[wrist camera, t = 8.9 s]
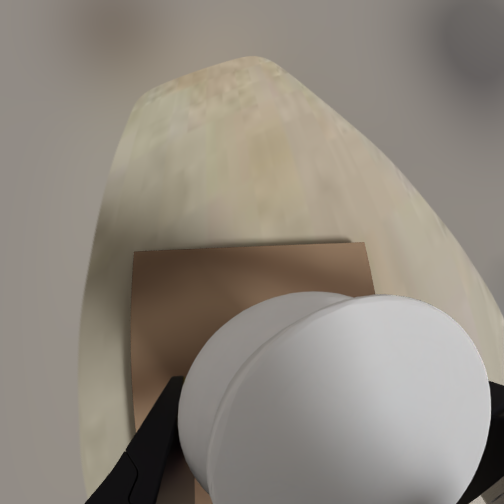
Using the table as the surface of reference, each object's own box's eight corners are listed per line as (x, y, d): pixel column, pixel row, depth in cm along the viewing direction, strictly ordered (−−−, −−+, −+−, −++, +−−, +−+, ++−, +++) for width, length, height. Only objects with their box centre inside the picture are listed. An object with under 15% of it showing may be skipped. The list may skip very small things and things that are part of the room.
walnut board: (383, 480, 14) (389, 484, 13) (153, 507, 12) (149, 513, 12) (358, 247, 21) (364, 242, 20) (138, 257, 19) (134, 251, 18)
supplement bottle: (183, 404, 14) (48, 482, 2) (253, 311, 16) (304, 152, 5) (283, 466, 13) (386, 613, 1) (347, 373, 15) (544, 344, 3)
